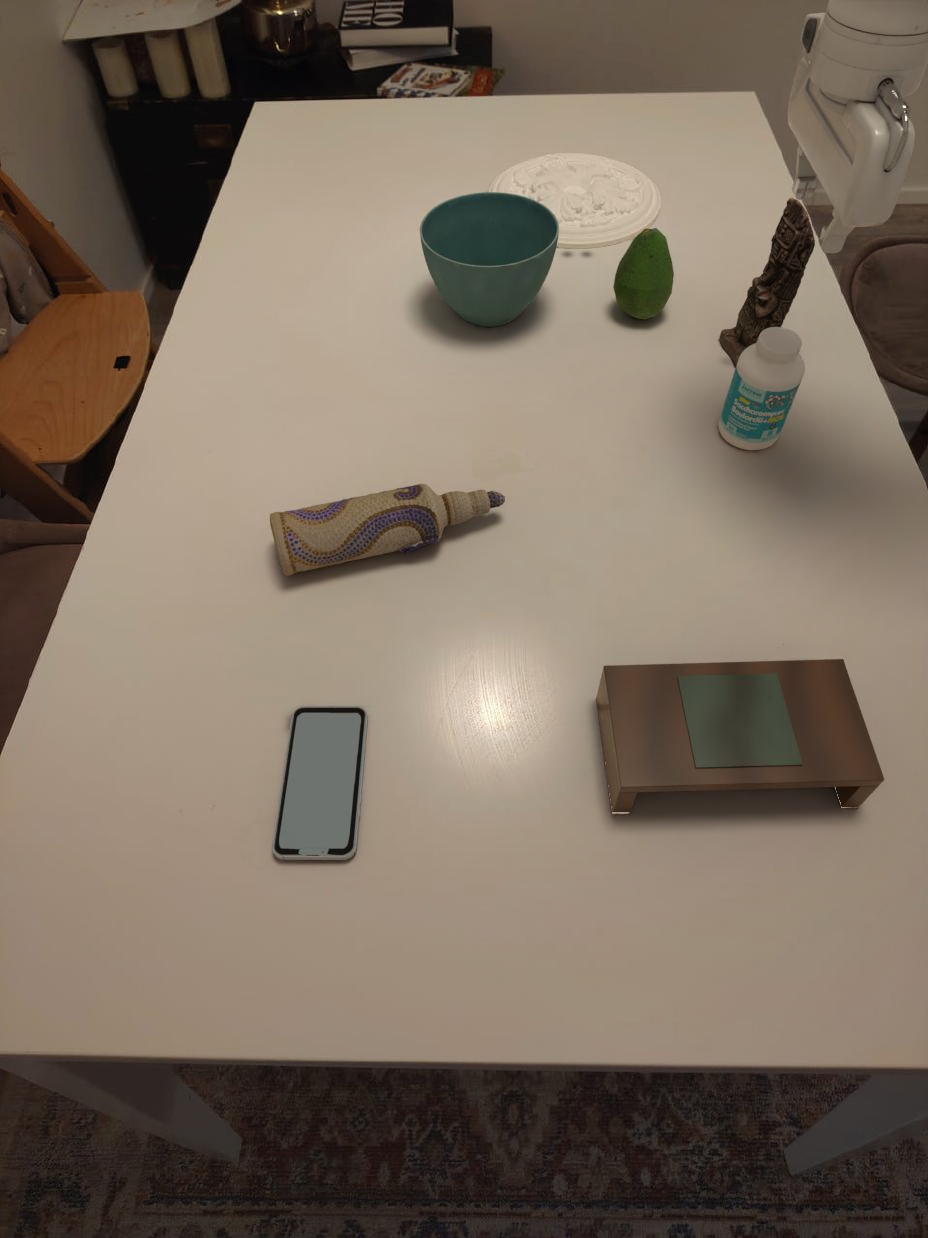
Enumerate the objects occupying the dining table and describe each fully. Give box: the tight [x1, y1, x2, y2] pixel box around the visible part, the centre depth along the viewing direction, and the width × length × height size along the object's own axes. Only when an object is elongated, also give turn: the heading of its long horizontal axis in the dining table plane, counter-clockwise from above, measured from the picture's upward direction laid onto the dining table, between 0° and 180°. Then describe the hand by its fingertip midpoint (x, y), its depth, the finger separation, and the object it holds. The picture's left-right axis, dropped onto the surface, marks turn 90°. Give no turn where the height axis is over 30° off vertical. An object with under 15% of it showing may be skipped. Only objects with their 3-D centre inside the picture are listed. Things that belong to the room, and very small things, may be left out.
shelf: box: [595, 658, 885, 813], centre depth 74 cm, size 22×12×6 cm, turn 91°
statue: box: [718, 197, 816, 367], centre depth 103 cm, size 7×7×20 cm
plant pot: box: [419, 191, 559, 328], centre depth 113 cm, size 18×18×12 cm
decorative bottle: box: [269, 483, 506, 576], centre depth 90 cm, size 26×8×7 cm, turn 105°
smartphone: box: [271, 705, 369, 861], centre depth 75 cm, size 7×1×15 cm
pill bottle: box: [717, 326, 806, 451], centre depth 96 cm, size 8×7×14 cm
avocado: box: [612, 227, 675, 320], centre depth 112 cm, size 8×8×12 cm
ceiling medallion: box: [487, 152, 662, 250], centre depth 133 cm, size 28×28×3 cm
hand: (814, 221), depth 78 cm, fingers open, 8 cm apart
